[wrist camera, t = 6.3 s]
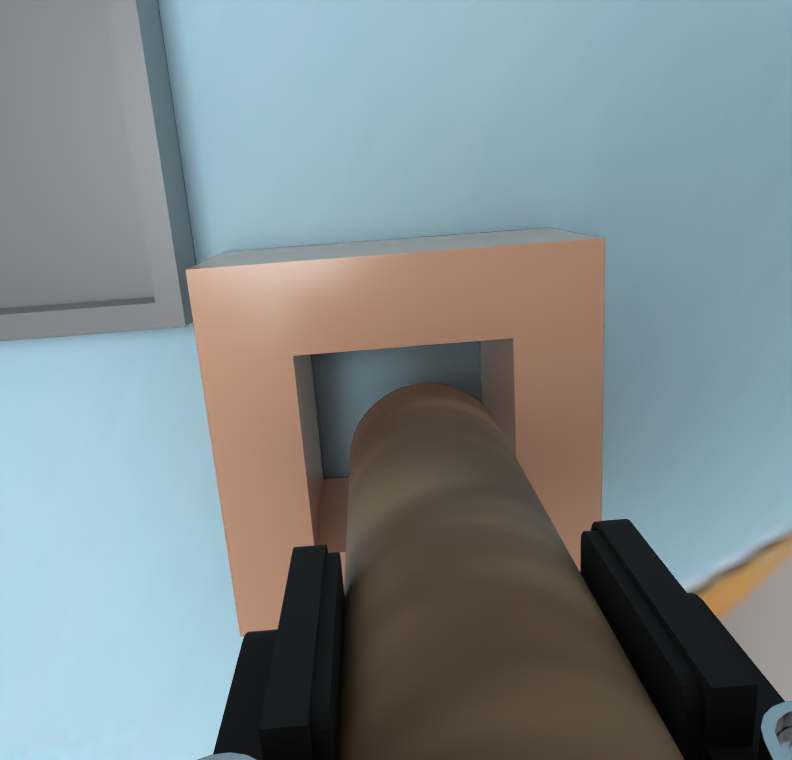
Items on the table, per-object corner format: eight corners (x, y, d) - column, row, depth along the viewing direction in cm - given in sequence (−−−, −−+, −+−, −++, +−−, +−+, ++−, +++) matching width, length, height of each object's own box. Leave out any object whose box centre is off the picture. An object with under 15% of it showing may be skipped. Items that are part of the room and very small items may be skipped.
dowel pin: (502, 377, 17) (777, 763, 6) (505, 520, 18) (743, 1082, 7) (343, 389, 17) (305, 807, 6) (356, 532, 18) (347, 1123, 7)
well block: (548, 227, 23) (604, 238, 18) (551, 520, 26) (600, 602, 21) (224, 251, 23) (185, 269, 18) (263, 546, 26) (240, 636, 21)
